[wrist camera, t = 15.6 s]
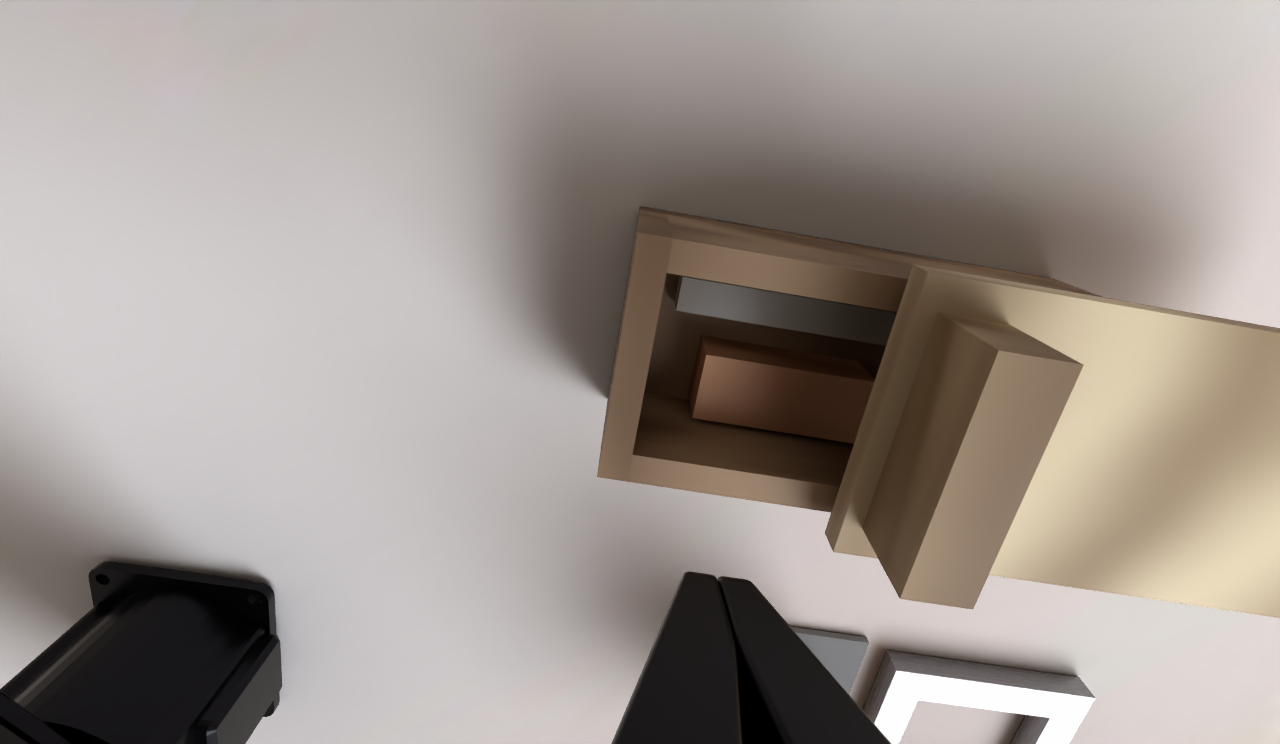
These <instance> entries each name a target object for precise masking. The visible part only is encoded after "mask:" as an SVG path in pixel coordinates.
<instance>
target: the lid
mask: <svg viewBox="0 0 1280 744" xmlns="http://www.w3.org/2000/svg"><path fill="white" fill-rule="evenodd" d="M825 534H826V537H827V539H828V541H829V543H830V546H831V548H832V550H833V552H838V553H844V554H851V555H858V556H865V557H871V558H878V559H879V561H880V563H881V565H882V566H883V568H884V570H885V572H886V574H887V576H888V577H889V579H890V581H891V583H892V585H893V587H894V589H895V590H896V592H897V594H898V596H899V598H900V599H905V600H912V601H919V602H926V603H933V604H940V605H947V606H954V607H960V608H967V609H973V608H974V606H975V604H976V601H977V599H978V597H979V595H980V593H981V590H982V588H983V586H984V584H985V582H986V579H987V577H988V575H993V576H1000V577H1006V578H1013V579H1020V580H1027V581H1033V582H1040V583H1047V584H1054V585H1060V586H1067V587H1074V588H1081V589H1087V590H1094V591H1101V592H1108V593H1114V594H1121V595H1128V596H1135V597H1141V598H1148V599H1155V600H1162V601H1168V602H1175V603H1182V604H1189V605H1195V606H1202V607H1209V608H1216V609H1223V610H1229V611H1236V612H1243V613H1250V614H1256V615H1263V616H1270V617H1277V618H1280V328H1275V327H1269V326H1263V325H1257V324H1252V323H1246V322H1240V321H1235V320H1229V319H1223V318H1217V317H1212V316H1206V315H1200V314H1194V313H1189V312H1183V311H1177V310H1172V309H1166V308H1160V307H1154V306H1149V305H1143V304H1137V303H1132V302H1126V301H1120V300H1114V299H1109V298H1103V297H1097V296H1091V295H1086V294H1080V293H1074V292H1069V291H1063V290H1057V289H1051V288H1046V287H1040V286H1034V285H1029V284H1023V283H1017V282H1011V281H1006V280H1000V279H994V278H988V277H983V276H977V275H971V274H966V273H960V272H954V271H948V270H943V269H937V268H931V267H926V266H920V265H914V264H913V266H912V269H911V272H910V275H909V278H908V281H907V284H906V288H905V291H904V294H903V297H902V300H901V303H900V306H899V309H898V312H897V315H896V318H895V321H894V324H893V327H892V330H891V333H890V336H889V339H888V342H887V345H886V348H885V351H884V354H883V357H882V360H881V364H880V367H879V370H878V373H877V376H876V379H875V382H874V385H873V388H872V391H871V394H870V397H869V400H868V403H867V406H866V409H865V412H864V415H863V418H862V421H861V424H860V427H859V430H858V433H857V436H856V440H855V443H854V446H853V449H852V452H851V455H850V458H849V461H848V464H847V467H846V470H845V473H844V476H843V479H842V482H841V485H840V488H839V491H838V494H837V497H836V500H835V503H834V506H833V509H832V512H831V516H830V519H829V522H828V525H827V528H826V531H825Z"/></svg>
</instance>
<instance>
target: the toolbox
mask: <svg viewBox="0 0 1280 744" xmlns="http://www.w3.org/2000/svg"><path fill="white" fill-rule="evenodd" d="M913 264H914V265H920V266H926V267H931V268H937V269H943V270H948V271H954V272H960V273H966V274H971V275H977V276H983V277H988V278H994V279H1000V280H1006V281H1011V282H1017V283H1023V284H1029V285H1034V286H1040V287H1046V288H1051V289H1057V290H1063V291H1069V292H1074V293H1080V294H1086V295H1091V296H1097V297H1101V296H1098V295H1095V294H1093V293H1090V292H1087V291H1085V290H1082V289H1079V288H1076V287H1074V286H1071V285H1068V284H1066V283H1063V282H1060V281H1058V280H1055V279H1051V278H1045V277H1040V276H1034V275H1028V274H1023V273H1017V272H1011V271H1006V270H1000V269H994V268H988V267H983V266H977V265H971V264H966V263H960V262H954V261H949V260H943V259H937V258H932V257H926V256H920V255H914V254H909V253H903V252H897V251H892V250H886V249H880V248H875V247H869V246H863V245H858V244H852V243H846V242H840V241H835V240H829V239H823V238H818V237H812V236H806V235H801V234H795V233H789V232H784V231H778V230H772V229H766V228H761V227H755V226H749V225H744V224H738V223H732V222H727V221H721V220H715V219H709V218H704V217H698V216H692V215H687V214H681V213H675V212H670V211H664V210H658V209H653V208H647V207H641V206H640V208H639V214H638V220H637V226H636V232H635V238H634V244H633V250H632V256H631V262H630V268H629V274H628V280H627V286H626V292H625V298H624V304H623V310H622V316H621V322H620V329H619V335H618V341H617V347H616V353H615V359H614V365H613V371H612V377H611V383H610V389H609V395H608V401H607V409H606V416H605V423H604V431H603V438H602V445H601V453H600V460H599V467H598V475H597V477H602V478H608V479H615V480H621V481H628V482H635V483H641V484H648V485H654V486H661V487H668V488H674V489H681V490H687V491H694V492H701V493H707V494H714V495H720V496H727V497H734V498H740V499H747V500H753V501H760V502H767V503H773V504H780V505H786V506H793V507H800V508H806V509H813V510H819V511H826V512H832V509H833V506H834V503H835V500H836V497H837V494H838V491H839V488H840V485H841V482H842V479H843V476H844V473H845V470H846V467H847V464H848V461H849V458H850V455H851V452H852V449H853V446H854V443H855V440H856V436H857V433H858V430H859V427H860V424H861V421H862V418H863V415H864V412H865V409H866V406H867V403H868V400H869V397H870V394H871V391H872V388H873V385H874V382H875V379H876V376H877V373H878V370H879V367H880V364H881V360H882V357H883V354H884V351H885V348H886V345H887V342H888V339H889V336H890V333H891V330H892V327H893V324H894V321H895V318H896V315H897V312H898V309H899V306H900V303H901V300H902V297H903V294H904V291H905V288H906V284H907V281H908V278H909V275H910V272H911V269H912V266H913Z"/></svg>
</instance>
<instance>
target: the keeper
mask: <svg viewBox="0 0 1280 744" xmlns="http://www.w3.org/2000/svg"><path fill="white" fill-rule="evenodd" d="M918 700H921V701H928V702H936V703H943V704H950V705H958V706H965V707H973V708H980V709H987V710H995V711H1002V712H1009V713H1017V714H1024V715H1025V717H1024V719H1023V721H1022V723H1021V725H1020V727H1019V729H1018V731H1017V732H1016V734H1015V736H1014V738H1013V740H1012V742H1011V744H1069V743H1070V741H1071V739H1072V738H1073V736H1074V734H1075V733H1076V731H1077V729H1078V727H1079V726H1080V724H1081V722H1082V720H1083V719H1084V717H1085V715H1086V714H1087V712H1088V710H1089V708H1090V707H1091V705H1092V703H1093V701H1094V700H1095V697H1094V696H1093V694H1092V693H1091V692H1090V691H1089V689H1088V688H1087V687H1086V686H1085V684H1084V683H1083V682H1082V680H1081V679H1080V678H1079V677H1074V676H1067V675H1060V674H1053V673H1045V672H1038V671H1031V670H1024V669H1017V668H1010V667H1003V666H995V665H988V664H981V663H974V662H967V661H960V660H953V659H946V658H938V657H931V656H924V655H917V654H910V653H903V652H896V651H888V650H887V652H886V654H885V657H884V659H883V661H882V664H881V666H880V669H879V671H878V674H877V676H876V679H875V681H874V684H873V686H872V689H871V691H870V694H869V696H868V699H867V701H866V704H865V706H864V709H863V711H864V713H865V714H866V715H867V716H868V717H869V718H870V719H871V721H872V722H873V723H874V724H875V725H876V726H877V728H878V729H879V730H880V731H881V732H882V733H883V734H884V736H885V737H886V738H887V739H888V740H889V741H890V743H891V744H899V742H900V740H901V738H902V735H903V733H904V731H905V729H906V726H907V724H908V722H909V720H910V717H911V715H912V713H913V711H914V708H915V706H916V704H917V702H918Z"/></svg>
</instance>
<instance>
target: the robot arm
mask: <svg viewBox="0 0 1280 744" xmlns="http://www.w3.org/2000/svg"><path fill="white" fill-rule="evenodd" d="M89 583H90V588H91V594H92V599H93V605H94V608H93V609H91V610H90V611H89V612H88V613H87V614H86V615H85V616H83V617H82V618H81V619H80V620H79V621H78V622H77V623H75V624H74V625H73V626H72V627H71V628H70V629H69V630H67V631H66V632H65V633H64V634H63V635H62V636H61V637H59V638H58V639H57V640H56V641H55V642H54V643H53V644H51V645H50V646H49V647H48V648H47V649H46V650H44V651H43V652H42V653H41V654H40V655H39V656H38V657H36V658H35V659H34V660H33V661H32V662H31V663H30V664H28V665H27V666H26V667H25V668H24V669H23V670H22V671H20V672H19V673H18V674H17V675H16V676H15V677H14V678H12V679H11V680H10V681H9V682H8V683H7V684H6V685H4V686H3V687H2V688H1V689H0V744H245V743H246V742H247V740H248V739H249V737H250V736H251V734H252V733H253V731H254V729H255V728H256V726H257V725H258V723H259V722H260V720H261V719H262V717H268V716H271V715H272V714H273V713H274V711H275V710H276V708H277V706H278V705H279V702H280V699H279V691H280V689H281V687H282V672H281V651H280V640H279V638H278V636H277V635H276V617H275V597H274V592H273V590H272V589H271V587H270V586H268V585H266V584H264V583H261V582H254V581H247V580H239V579H232V578H225V577H218V576H211V575H203V574H196V573H189V572H182V571H174V570H167V569H160V568H153V567H146V566H138V565H131V564H124V563H117V562H102V563H100V564H99V565H97V566H96V567H95V568H94V569H92V570H91V572H90V573H89ZM256 595H257V596H259V597H260V598H259V597H257V596H256ZM612 744H891V743H890V741H889V740H888V739H887V738H886V737H885V736H884V734H883V733H882V732H881V731H880V730H879V729H878V728H877V726H876V725H875V724H874V723H873V722H872V721H871V719H870V718H869V717H868V716H867V715H866V714H865V713H864V711H863V710H862V709H861V708H860V707H859V706H858V704H857V703H856V702H855V701H854V700H853V699H852V697H851V696H850V695H849V694H848V693H847V692H846V691H845V689H844V688H843V687H842V686H841V685H840V684H839V682H838V681H837V680H836V679H835V678H834V677H833V676H832V674H831V673H830V672H829V671H828V670H827V669H826V667H825V666H824V665H823V664H822V663H821V662H820V661H819V659H818V658H817V657H816V656H815V655H814V654H813V652H812V651H811V650H810V649H809V648H808V647H807V646H806V644H805V643H804V642H803V641H802V640H801V639H800V637H799V636H798V635H797V634H796V633H795V632H794V630H793V629H792V628H791V627H790V626H789V625H788V624H787V622H786V621H785V620H784V619H783V618H782V617H781V615H780V614H779V613H778V612H777V611H776V610H775V609H774V607H773V606H772V605H771V604H770V603H769V602H768V600H767V599H766V598H765V597H764V596H763V595H762V594H761V592H760V591H759V590H758V589H757V588H756V587H755V585H754V584H753V583H752V582H750V581H749V580H745V579H738V578H731V577H724V576H721V577H719V578H718V579H717V578H716V577H715V576H713V575H710V574H704V573H697V572H690V571H689V572H685V573H684V574H683V576H682V579H681V581H680V583H679V586H678V588H677V590H676V593H675V595H674V597H673V600H672V602H671V604H670V607H669V609H668V612H667V614H666V616H665V619H664V621H663V623H662V626H661V628H660V630H659V633H658V635H657V638H656V640H655V642H654V645H653V647H652V649H651V652H650V654H649V656H648V659H647V661H646V663H645V666H644V668H643V671H642V673H641V675H640V678H639V680H638V682H637V685H636V687H635V689H634V692H633V694H632V696H631V699H630V701H629V704H628V706H627V708H626V711H625V713H624V715H623V718H622V720H621V722H620V725H619V727H618V729H617V732H616V734H615V737H614V739H613V741H612Z"/></svg>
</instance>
